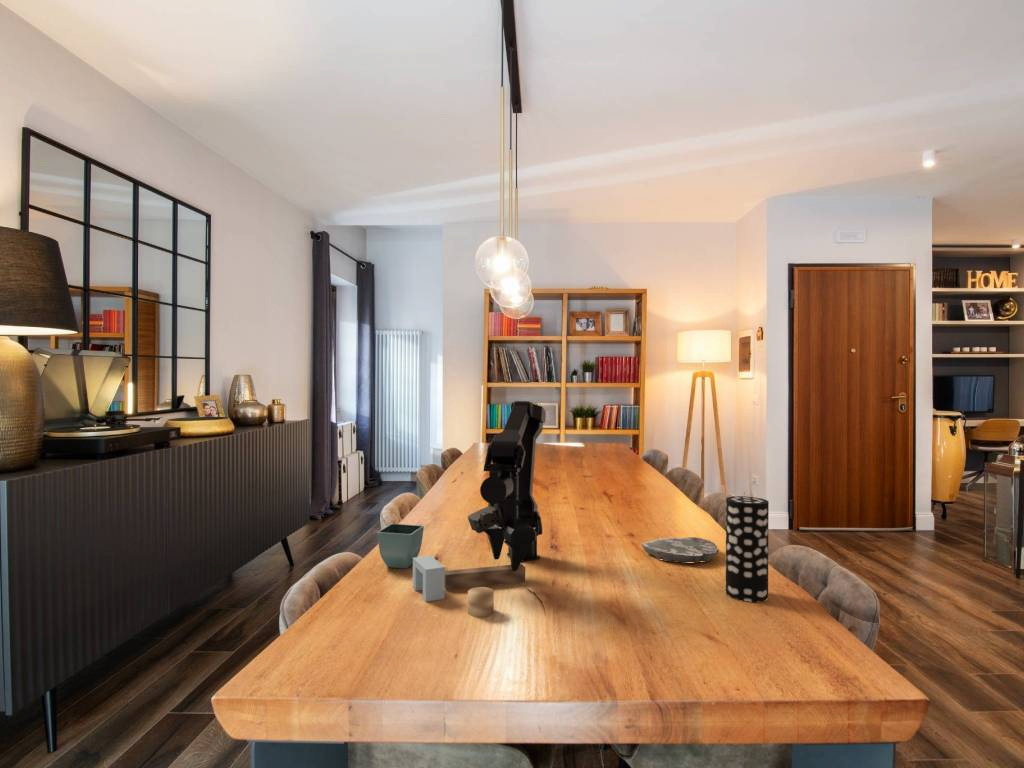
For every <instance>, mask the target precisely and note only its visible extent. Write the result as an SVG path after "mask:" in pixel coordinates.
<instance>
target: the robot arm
mask: <svg viewBox="0 0 1024 768" xmlns="http://www.w3.org/2000/svg"><path fill="white" fill-rule="evenodd" d="M510 408H511V409H510V412H509V415H508V418H507V419H506V422H505V425H504V427H503V430H502V431H501V432H500V433H497V434H495V436H494V437H493V438H492V440H491V442H490V443H489V444H488V446H487V450H486V456H485V460H484V464H483V465H484V466H483V472H488V474H489V475H488V477H487V478H485V479H484V480H483V481H482V482H481V485H480V488H479V492H480V495H481V498H482V499H483V501H485V502H486V503H488V505H487V506H486V507H484V508H481V509H479V510H477V511H475V512H473V513H471V514H468V516H467V520H468V522H469V526H470V528H471V530H472V531H474V532H475V533H477V534H481V533H484V534H486V536H487V538H488V542H489V545H490V549H491V554H492V555H493V556H492V557H493V559H494V560H495V561H496V560H499V559H500V558H501V557H500V556H501V554H502V550H503V546H504V544H505V545H506V546H507V547H508V548H507V550H508V551H507V553H506V555H507V557H509V558H510V565H511V568H512V571H517V569H518V567H519V565H520V564H522V563H521V562H524V561H532V560H538V559H541V556H540V555H539V554H538V537H539V536H540V535H543V522H542V518H541V515H540V512H539V510H538V504H537V502H536V500H535V497H534V496H533V491H534V490H533V487H534V471H535V459H536V445H537V439H538V437H539V436H540V435H541V433H542V432H543V429H544V424H545V423H546V417H547V416H546V410H545V408H544V407H543V406H541V405H538V404H534V403H533V402H532V401H530V400H515V401H513V402H512V403H511V406H510Z"/></svg>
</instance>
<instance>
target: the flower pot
mask: <svg viewBox="0 0 1024 768" xmlns="http://www.w3.org/2000/svg"><path fill="white" fill-rule="evenodd" d="M424 527H425V526H424V525H420V524H417V525H416V524H405V523H404V524H402V523H390V524H388V525H387V526H385V527H383V528H382V529H379V530H378V531H377V532H376V534H377V540H378V541H377V542H378V549H379V550H378V551H379V554H380V558H381V559H382V561H383V563H384V564H385V566H386V567H387V568H397V569H408V568H409V567H410V566H411V565H413V558H415V557H419V554H420V551H421V548H422V544H423V543H422V542H423V538H424V537H423V535H424Z"/></svg>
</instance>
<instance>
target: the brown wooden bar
mask: <svg viewBox="0 0 1024 768" xmlns="http://www.w3.org/2000/svg"><path fill="white" fill-rule="evenodd" d="M522 583H523V584H524V583H526V567H525V566H524V565H523V564H522V563H520V565H519V567H518V569H517V571H512V568H511V564H504V565H494V566H482V567H473V568H461V569H451V570H450V569H449V570H445V587H444V591H453V590H454V591H455V590H463V589H464V590H465V589H472V588H476V587H492V586H493V587H495V586H501V585H504V586H505V585H513V584H522Z"/></svg>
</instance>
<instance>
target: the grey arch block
mask: <svg viewBox="0 0 1024 768" xmlns="http://www.w3.org/2000/svg"><path fill="white" fill-rule="evenodd" d="M445 568H446V567H445V566H444V565H443V564H441V563H440V562H439V560H437V559H436V558H434V557H433V556H432V555H424V556H417V557H415V558H413V563H412V589H413V590H414V591H415V592H416V591H422V600H424V602H433V601H439V600H440V601H441V600H444V599H445V589H444V587H445V571H446V570H445Z"/></svg>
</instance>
